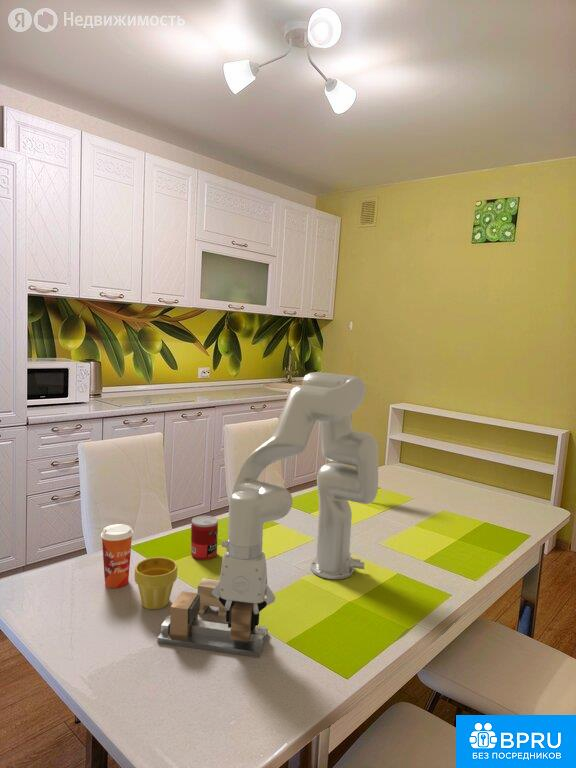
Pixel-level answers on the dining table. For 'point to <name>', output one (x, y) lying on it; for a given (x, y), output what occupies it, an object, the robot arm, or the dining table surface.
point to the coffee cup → (116, 554)
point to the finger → (240, 620)
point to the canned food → (204, 537)
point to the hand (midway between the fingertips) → (242, 625)
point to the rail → (214, 643)
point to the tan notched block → (209, 596)
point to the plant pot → (155, 581)
